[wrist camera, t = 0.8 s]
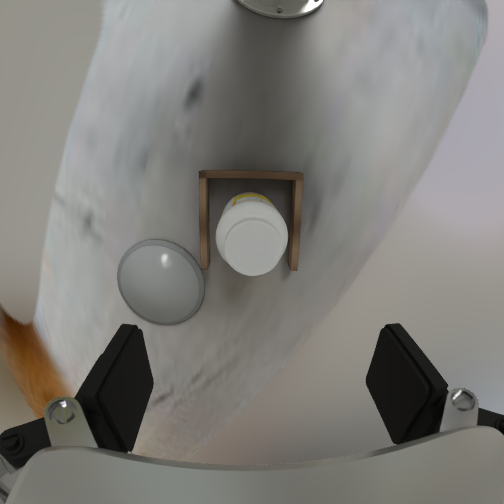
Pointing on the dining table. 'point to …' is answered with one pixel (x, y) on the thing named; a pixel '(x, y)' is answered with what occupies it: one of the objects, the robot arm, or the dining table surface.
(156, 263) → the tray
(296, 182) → the frame
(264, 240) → the supplement bottle
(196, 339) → the dining table surface
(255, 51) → the dining table surface
